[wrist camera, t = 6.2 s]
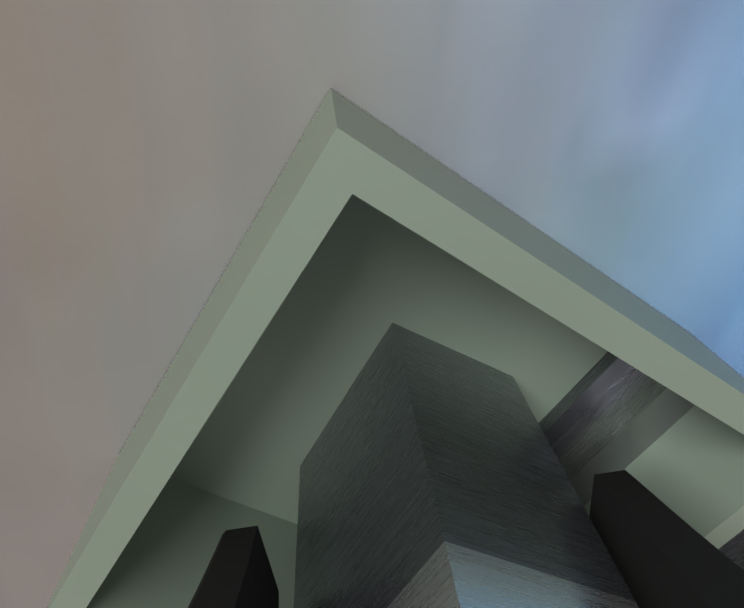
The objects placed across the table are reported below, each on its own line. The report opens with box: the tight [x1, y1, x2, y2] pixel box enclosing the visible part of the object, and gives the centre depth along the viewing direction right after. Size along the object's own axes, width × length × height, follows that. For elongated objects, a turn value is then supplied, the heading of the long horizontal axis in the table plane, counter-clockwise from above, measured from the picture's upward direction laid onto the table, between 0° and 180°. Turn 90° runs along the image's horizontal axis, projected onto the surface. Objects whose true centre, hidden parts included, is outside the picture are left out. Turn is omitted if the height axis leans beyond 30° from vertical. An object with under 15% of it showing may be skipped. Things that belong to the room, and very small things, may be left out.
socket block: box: [538, 352, 744, 570], centre depth 16 cm, size 10×10×2 cm
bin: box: [47, 88, 744, 608], centre depth 12 cm, size 11×11×5 cm
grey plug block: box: [294, 322, 639, 608], centre depth 11 cm, size 4×5×7 cm
